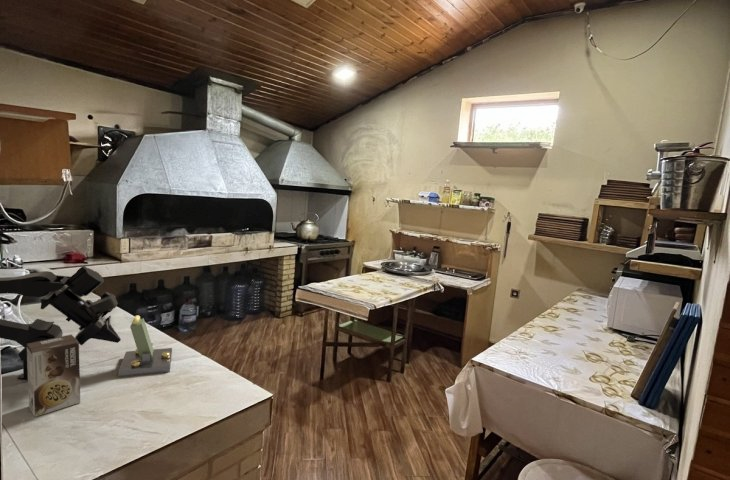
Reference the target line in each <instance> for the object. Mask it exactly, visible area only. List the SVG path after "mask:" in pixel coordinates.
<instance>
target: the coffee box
mask: <svg viewBox="0 0 730 480" xmlns="http://www.w3.org/2000/svg"><path fill="white" fill-rule="evenodd" d="M27 369H28V379H27V388H28V389H27V393H28V407H29V409H30V411H31V413H32V415H33V416H34V417H35V418H36V417H40V416H41V415H46V414H48V413H52V412H55V411H58V410H61V409H65V408H68V407H70V406H74V405H76V404H79V403H81V377H80V376H81V373H80V344H79V342H78V341H77V340H76V339H75V336H74V335H73V334H68V335H62V337H57V338H52V339H47V340H42V341H38V342H33V343H28V344H27Z"/></svg>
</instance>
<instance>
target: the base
mask: <svg viewBox="0 0 730 480" xmlns="http://www.w3.org/2000/svg"><path fill="white" fill-rule="evenodd" d="M151 344H152V347H154V346H153V345H154V344H153V342H151ZM153 350H154V351H153V355H152V357H151V358H150V352H148V353H142V360H141V359H140V356H139V353H138V350H137V348H136V349H135V350H132V351H131V350H130V351H125V353H124V356H123V358H122V360H121V364H120V365H119V369H118V378H124V377H134V376H144V375H153V374H154V375H155V374H164V373H170V372H171V365H172V359H173V358H172V357H173V348H172V347H169V348H168V347H166V348H155V349H154V348H153Z"/></svg>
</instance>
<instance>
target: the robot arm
mask: <svg viewBox="0 0 730 480" xmlns="http://www.w3.org/2000/svg"><path fill="white" fill-rule="evenodd" d="M104 282H105V279H104V277H103V276H102V275H101V274H100V273H99V272H97V271H96V270H93V269H92V268H89V267H87V266H86V265H81V267H79V269H77V271H76V272H75V273H73V274H72V275H71V276H69V275H68V276H67V275H58V274H57V275H56V274H54V272H52V271H47V270H45V271H39V272H33V273H28V274H24V275H19V276H12V277H10V276H9V277H4V276H3V277H0V295H1V294H2V295H3V294H12V295H13V294H14V295H19V296H23V297H32V298H41V299H40V310H45V309H46V308H47V307H48V306H52V307H53V308H54V309H55V310H57V311H58V312H60V313H61V314H62V315H64V316H65V317H66V318H65V320H66V321H67V322H70V321H72V322H73V323H74V324H76V325H77V326H79V328H78V330H79V331H78V332H77V334H76V335H75V336H74V337H75V339H76V340H77V341H78V342H79V346H83V345H84V344H85V343H87V342H88V341H89V340H91V339H95V340H101V341H106V342H110V343H119V342H121V340H122V339H121V337H120V336H119V334H118V333H117V332H116V330H115V329H114V327H113V326H112V325H111V318H112V317H111V315H108V314H109V313H111V312H112V311H113V310H114V309H115V308H117V306H118V305H119V303H118V301H117V299H116V297H117V296H116V295H115V294H113V293H111V292H109V291H105V292H104V293H101V295H100V298H99V299H97V300H95V301H92V300H90V299H86V300H84V299H83V298H81V297H82V296H84V297H87V296H88V295H90V294H91V293H92V292H93V291H94V290H96V289H97V288H98V287H99V286H101V285H102V284H103V283H104ZM65 286H66V287H65ZM64 287H65V288H64ZM62 288H64V289H63V290H61V289H62ZM50 293H51V294H50ZM49 294H50V295H49ZM48 295H49V296H48ZM47 296H48V297H47ZM106 315H108V317H105V316H106ZM62 336H63V329H62V328H61V326H59V325H58V324H55V321H46V320H43V319H40V318H36V319H35V320H34V321H33V322H31V323H20V322H16V321H11V320H7V319H2V318H0V339H3V340H9V341H13V342H16V343H17V344H18V345H20V346H21V347H23V348H22V350H20V351H19V353H18V357H19V359H20V360H21V361H22V368H23V371H22V373H21V374H20V375H19V376H17V380H28V369H27V344H28V343H33V342H38V341H42V340H47V339H52V338H57V337H62Z"/></svg>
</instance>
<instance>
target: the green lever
mask: <svg viewBox="0 0 730 480" xmlns="http://www.w3.org/2000/svg"><path fill="white" fill-rule="evenodd" d="M130 331H131V334H132V336H133V337H132V338H133V339H134V343H135V345H136V347H135V348H136V349H137V350H138V353H139V356H140V359H141V360H142V353H148V352H150V358H151V357H152V355H153V351H154V350H153V349H154V346H152V344H151V343H152V341H151V338H150V334H149V332H148V331H149V330H148V328H147V324H146V321H145V319H144V317H143V318H141V316H140V315H134V317H133V319H132V321H131V324H130Z"/></svg>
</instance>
